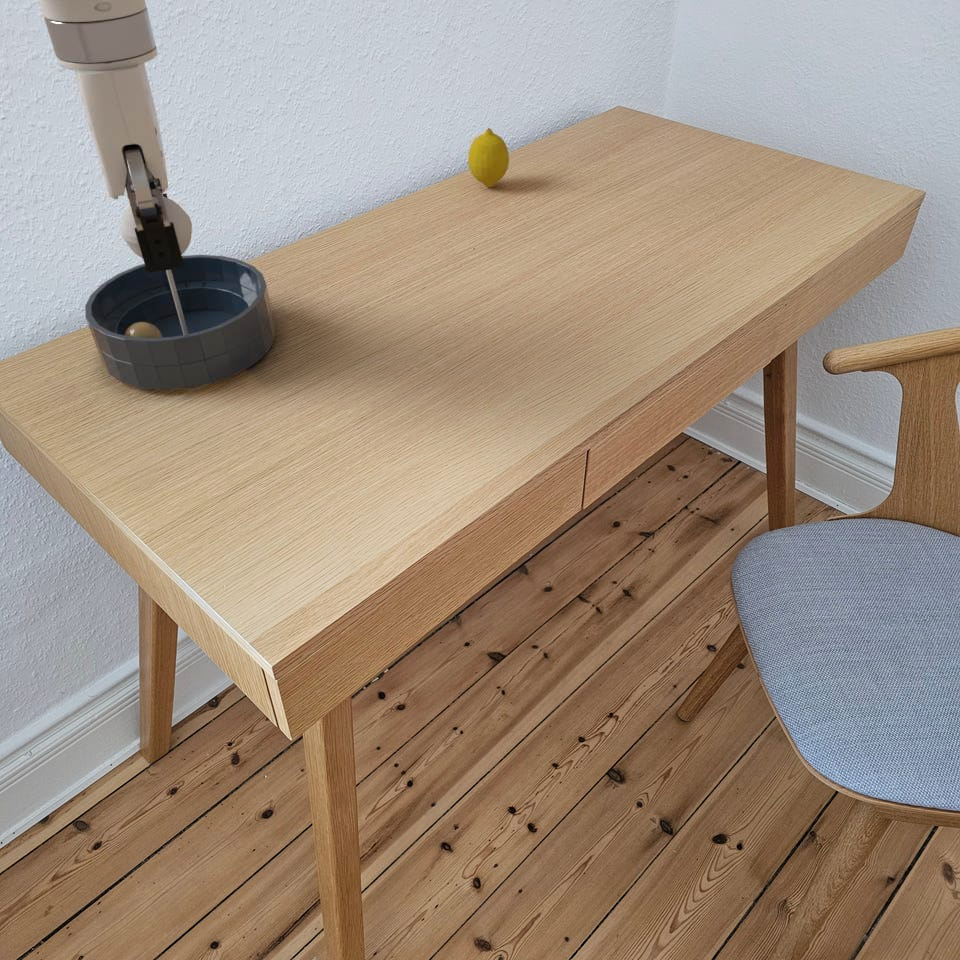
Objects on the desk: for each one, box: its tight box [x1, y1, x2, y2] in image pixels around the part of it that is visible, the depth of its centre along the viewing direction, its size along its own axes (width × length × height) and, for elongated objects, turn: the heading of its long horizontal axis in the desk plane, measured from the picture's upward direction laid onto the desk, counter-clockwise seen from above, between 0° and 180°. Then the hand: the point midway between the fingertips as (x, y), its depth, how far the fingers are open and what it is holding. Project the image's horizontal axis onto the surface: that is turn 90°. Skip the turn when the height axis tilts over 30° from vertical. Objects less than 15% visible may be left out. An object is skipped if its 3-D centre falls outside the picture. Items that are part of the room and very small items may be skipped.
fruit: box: [467, 127, 510, 188], centre depth 115 cm, size 6×6×8 cm
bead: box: [124, 322, 163, 338], centre depth 84 cm, size 4×4×4 cm
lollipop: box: [120, 197, 193, 335], centre depth 79 cm, size 6×6×15 cm
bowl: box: [84, 254, 277, 391], centre depth 86 cm, size 17×17×6 cm
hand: (162, 251), depth 78 cm, fingers closed on lollipop, 6 cm apart
